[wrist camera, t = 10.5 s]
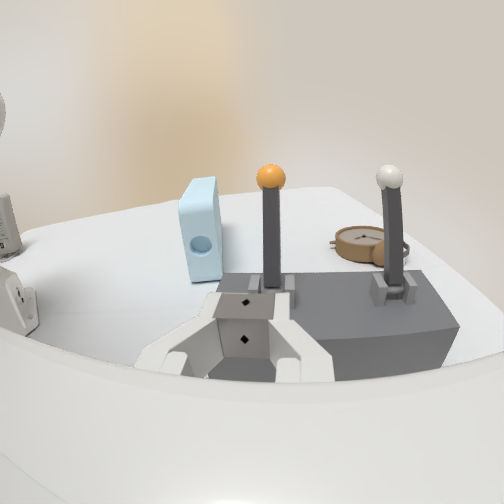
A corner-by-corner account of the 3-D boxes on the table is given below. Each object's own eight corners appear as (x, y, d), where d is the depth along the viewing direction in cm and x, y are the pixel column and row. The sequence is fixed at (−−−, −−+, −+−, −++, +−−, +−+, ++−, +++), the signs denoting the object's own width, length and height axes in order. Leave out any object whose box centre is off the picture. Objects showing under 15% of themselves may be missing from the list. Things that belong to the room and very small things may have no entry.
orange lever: (287, 299, 22) (284, 159, 23) (255, 299, 23) (254, 160, 23) (287, 295, 25) (285, 169, 25) (259, 295, 25) (258, 170, 26)
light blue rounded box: (197, 234, 64) (189, 178, 58) (222, 231, 64) (216, 175, 58) (186, 286, 43) (171, 205, 37) (222, 283, 43) (212, 200, 37)
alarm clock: (351, 222, 56) (416, 227, 45) (353, 244, 57) (416, 252, 46) (322, 238, 49) (398, 246, 38) (325, 263, 51) (398, 275, 40)
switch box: (430, 385, 21) (467, 307, 17) (214, 394, 24) (192, 316, 20) (405, 325, 30) (423, 253, 26) (231, 329, 33) (221, 256, 29)
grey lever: (410, 295, 21) (405, 162, 21) (384, 297, 21) (379, 160, 21) (399, 291, 23) (395, 169, 23) (375, 292, 24) (371, 168, 24)
